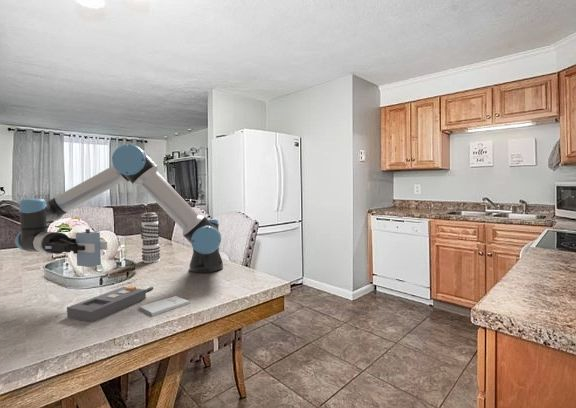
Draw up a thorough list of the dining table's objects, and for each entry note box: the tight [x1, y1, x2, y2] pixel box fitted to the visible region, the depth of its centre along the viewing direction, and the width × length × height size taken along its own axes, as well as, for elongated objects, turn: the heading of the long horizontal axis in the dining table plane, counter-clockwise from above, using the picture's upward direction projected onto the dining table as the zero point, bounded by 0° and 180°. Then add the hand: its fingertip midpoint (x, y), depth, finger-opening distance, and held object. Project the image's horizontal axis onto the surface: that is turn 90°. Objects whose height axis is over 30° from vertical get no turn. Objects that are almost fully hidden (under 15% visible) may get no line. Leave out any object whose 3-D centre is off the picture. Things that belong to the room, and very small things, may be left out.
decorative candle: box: [139, 211, 161, 264], centre depth 161 cm, size 9×9×25 cm
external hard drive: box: [138, 295, 189, 317], centre depth 100 cm, size 2×8×12 cm
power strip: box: [66, 285, 154, 323], centre depth 104 cm, size 28×10×4 cm, turn 160°
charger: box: [75, 228, 102, 268], centre depth 106 cm, size 4×6×12 cm, turn 70°
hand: (99, 247), depth 104 cm, fingers closed on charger, 4 cm apart
